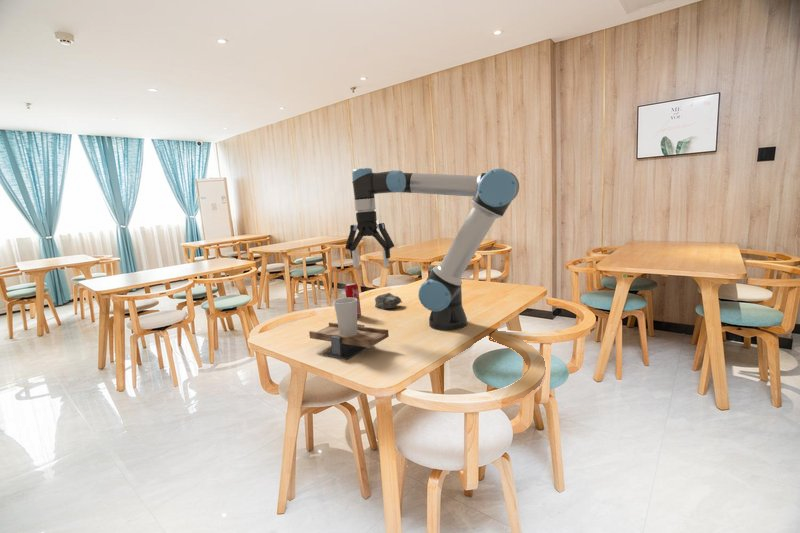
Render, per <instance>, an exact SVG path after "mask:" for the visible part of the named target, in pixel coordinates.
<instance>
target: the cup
mask: <svg viewBox="0 0 800 533" xmlns="http://www.w3.org/2000/svg"><path fill="white" fill-rule="evenodd" d="M333 305H334V309H335V310H334V311H335V316H336V323H338V327H339V335H341V336H348V337H351V336H355V335H357V334H358V330H357V324H358V317H357V299H356V298H346V297H341V298H337V299H335V300H334V301H333Z"/></svg>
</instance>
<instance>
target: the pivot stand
mask: <svg viewBox="0 0 800 533" xmlns="http://www.w3.org/2000/svg"><path fill="white" fill-rule="evenodd" d="M357 326H362V327H366V326H365V324H359V323H357ZM330 344H331V349H330V350H328V351H326V352H324V353H323V356H325V357H330V358H335V359H341V360H345V361H348V360H349V359H351V358H352V357H353V358H354V356H356V355H357V354H359V353H362V352H363V351H364V350H366V349H369V348H368V347H362V346H355V345H349V344H343V343H342V339H341V337H338V336H331V342H330Z"/></svg>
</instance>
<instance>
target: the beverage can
mask: <svg viewBox="0 0 800 533" xmlns="http://www.w3.org/2000/svg"><path fill="white" fill-rule="evenodd" d="M344 291H345V298H356V299H357V318H358V317H361V316H362V310H361V301H360V293H359V286H358V283H357V282H351V283H346V284H345V285H344Z"/></svg>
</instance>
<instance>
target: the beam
mask: <svg viewBox="0 0 800 533" xmlns="http://www.w3.org/2000/svg"><path fill="white" fill-rule="evenodd" d="M357 330H358V334H357V335H355V336H351V337H348V336H341V335H339V327H338V322H328V325H327V326H326V327H323V328H322V329H320V330H318V331H313V330H311V331H308V332H309V333H308V334H309V339H314V340H318V341H319V340H320V341H326V342H329V343H331V336H338V337H341V339H342V343H343V344H349V345H355V346H362V347H368V348H367V349H371V348H373V347H374V346H376V345H378V344H379V343H380V342H382V341H384V340H385V339H387V338H389V336H390V335H389V329H384V328H376V327H369V326H365V327H362V326H357Z"/></svg>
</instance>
